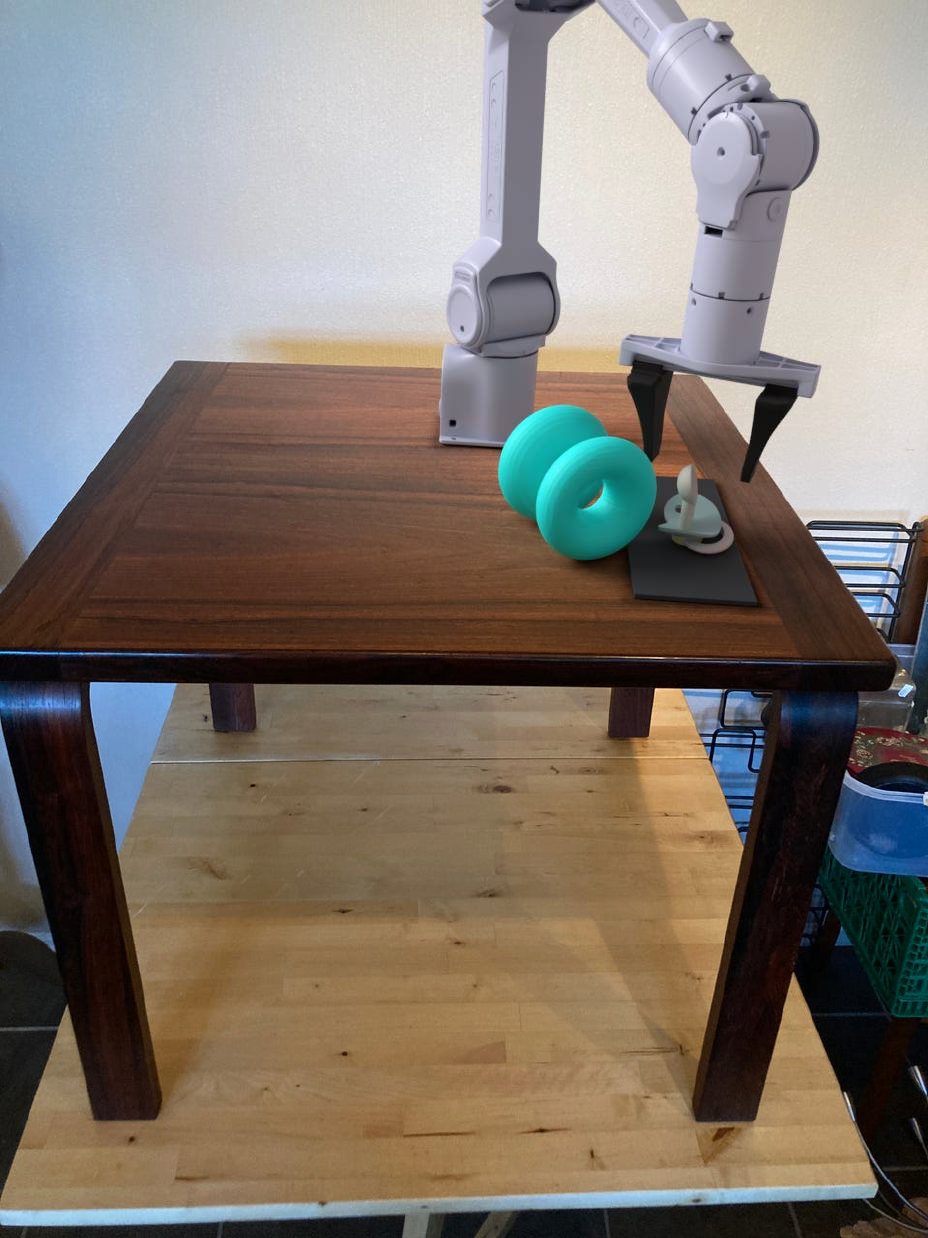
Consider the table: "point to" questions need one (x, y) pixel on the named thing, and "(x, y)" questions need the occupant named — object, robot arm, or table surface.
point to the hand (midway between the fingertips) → (698, 467)
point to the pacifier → (694, 517)
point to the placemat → (686, 559)
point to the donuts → (577, 482)
